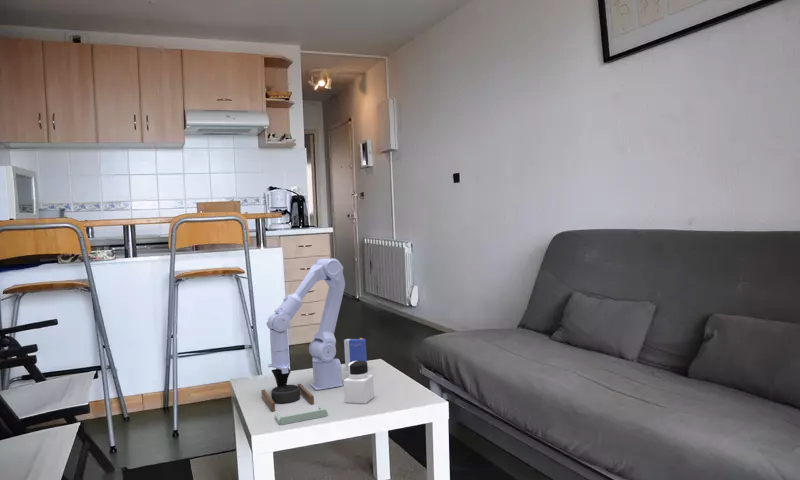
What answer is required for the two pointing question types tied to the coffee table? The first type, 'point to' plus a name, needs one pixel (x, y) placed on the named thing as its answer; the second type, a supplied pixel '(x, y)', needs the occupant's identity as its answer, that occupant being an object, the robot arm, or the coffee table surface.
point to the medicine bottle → (358, 383)
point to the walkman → (355, 350)
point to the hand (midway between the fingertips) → (282, 390)
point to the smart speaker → (285, 393)
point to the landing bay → (301, 416)
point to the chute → (303, 392)
